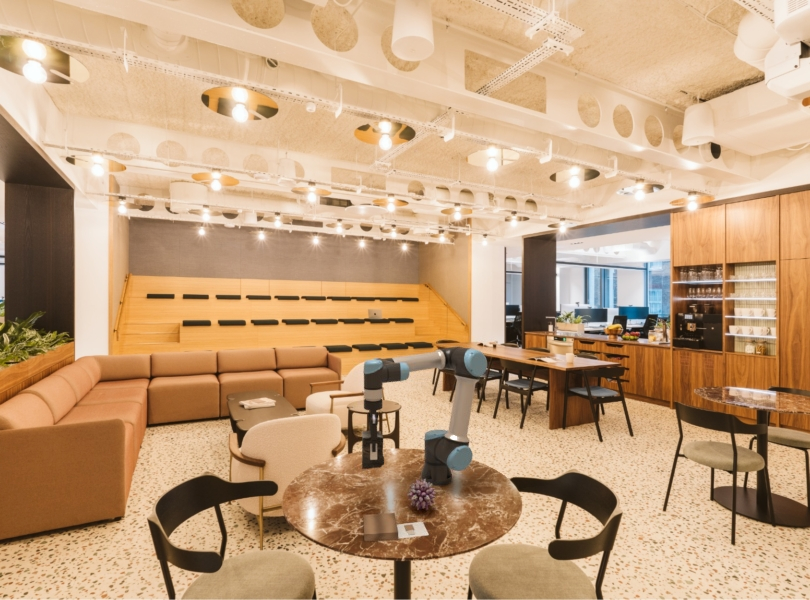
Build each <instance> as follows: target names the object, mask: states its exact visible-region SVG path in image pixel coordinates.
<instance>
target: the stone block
mask: <svg viewBox="0 0 810 600" xmlns="http://www.w3.org/2000/svg"><path fill="white" fill-rule="evenodd" d="M377 441H378V443H377V460H370V444H369V442H371V431H369V430H362V431H361V469H362V470H369V469H375V468H377V469H379V468H382V467H383V466H384V465H385V457H384V436H383V435H382V431H381V430H377Z"/></svg>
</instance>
